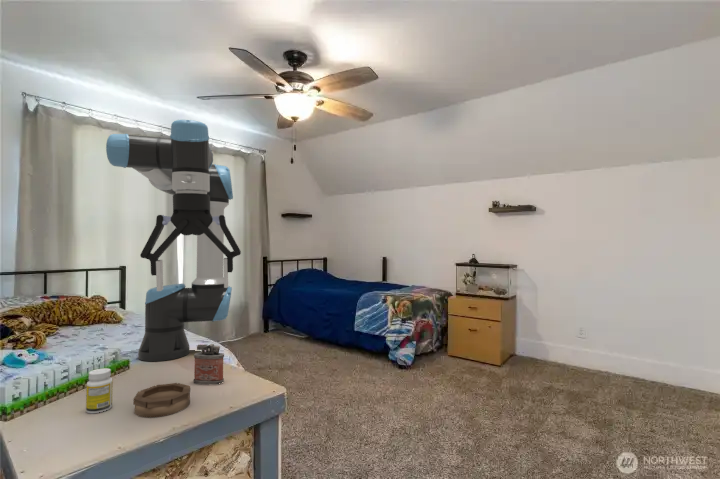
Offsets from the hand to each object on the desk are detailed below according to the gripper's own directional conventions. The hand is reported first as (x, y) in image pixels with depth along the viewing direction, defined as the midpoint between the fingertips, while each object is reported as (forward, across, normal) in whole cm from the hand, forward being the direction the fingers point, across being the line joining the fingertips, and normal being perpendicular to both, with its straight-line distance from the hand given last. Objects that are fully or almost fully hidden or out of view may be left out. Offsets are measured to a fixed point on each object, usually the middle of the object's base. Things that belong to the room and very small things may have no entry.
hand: (193, 288), depth 83 cm
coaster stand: (+27, -7, +1) cm, 28 cm away
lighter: (+28, +1, +14) cm, 32 cm away
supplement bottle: (+27, -20, +4) cm, 34 cm away
